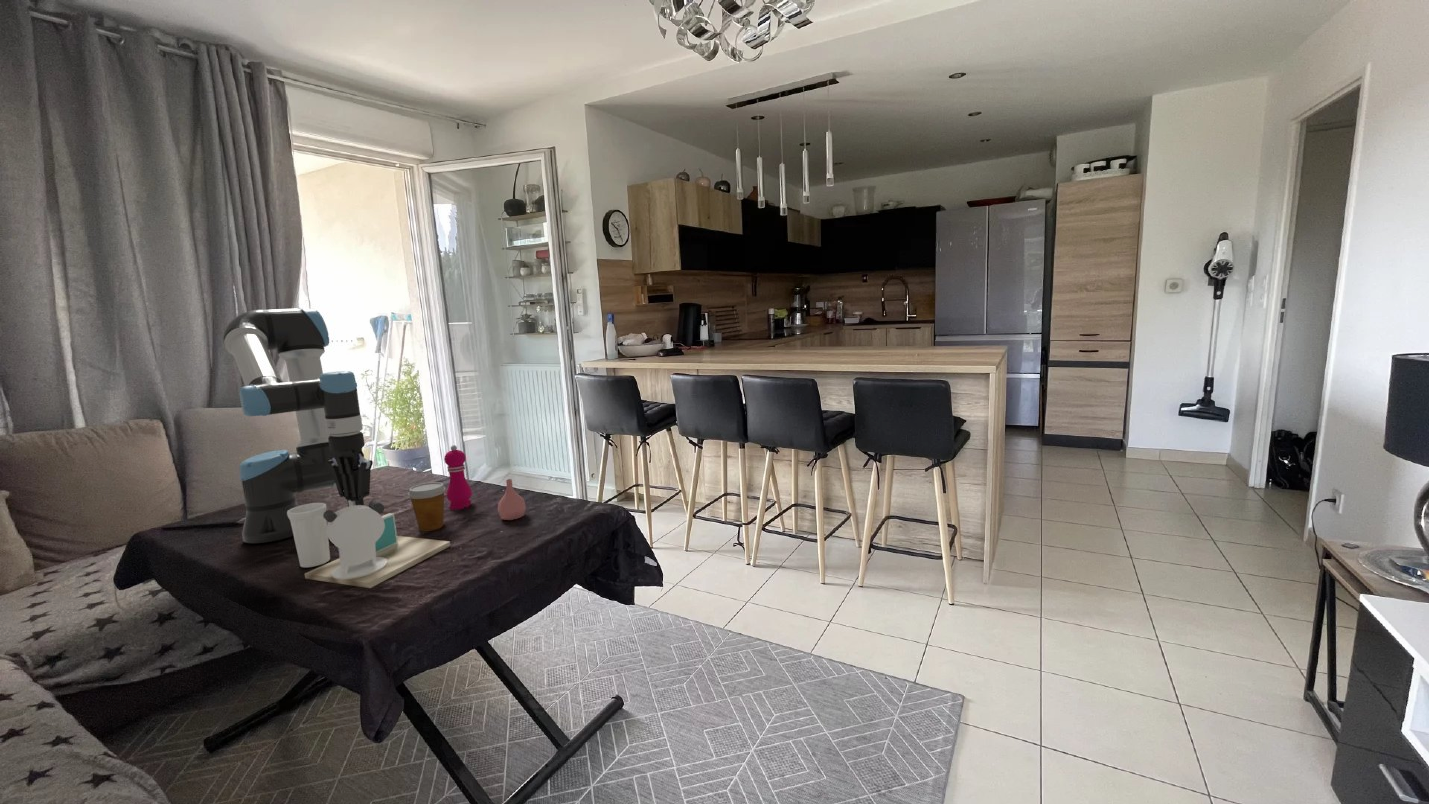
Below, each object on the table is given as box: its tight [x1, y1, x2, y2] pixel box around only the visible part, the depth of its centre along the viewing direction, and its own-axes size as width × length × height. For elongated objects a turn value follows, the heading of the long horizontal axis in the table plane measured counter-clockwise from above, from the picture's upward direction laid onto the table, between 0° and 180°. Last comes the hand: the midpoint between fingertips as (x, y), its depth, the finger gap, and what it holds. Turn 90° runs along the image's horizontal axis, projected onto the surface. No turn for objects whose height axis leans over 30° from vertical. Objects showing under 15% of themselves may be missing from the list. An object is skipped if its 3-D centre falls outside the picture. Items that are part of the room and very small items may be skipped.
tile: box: [375, 512, 398, 553], centre depth 149 cm, size 2×8×8 cm, turn 161°
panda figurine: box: [323, 499, 388, 579], centre depth 138 cm, size 12×11×15 cm
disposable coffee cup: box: [407, 481, 446, 532], centre depth 167 cm, size 10×10×12 cm
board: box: [304, 535, 451, 589], centre depth 145 cm, size 20×24×1 cm
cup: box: [287, 502, 331, 568], centre depth 145 cm, size 8×8×14 cm
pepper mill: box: [444, 444, 473, 510], centre depth 182 cm, size 7×7×20 cm
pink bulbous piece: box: [497, 478, 527, 521], centre depth 170 cm, size 8×8×12 cm
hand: (358, 523), depth 151 cm, fingers closed
